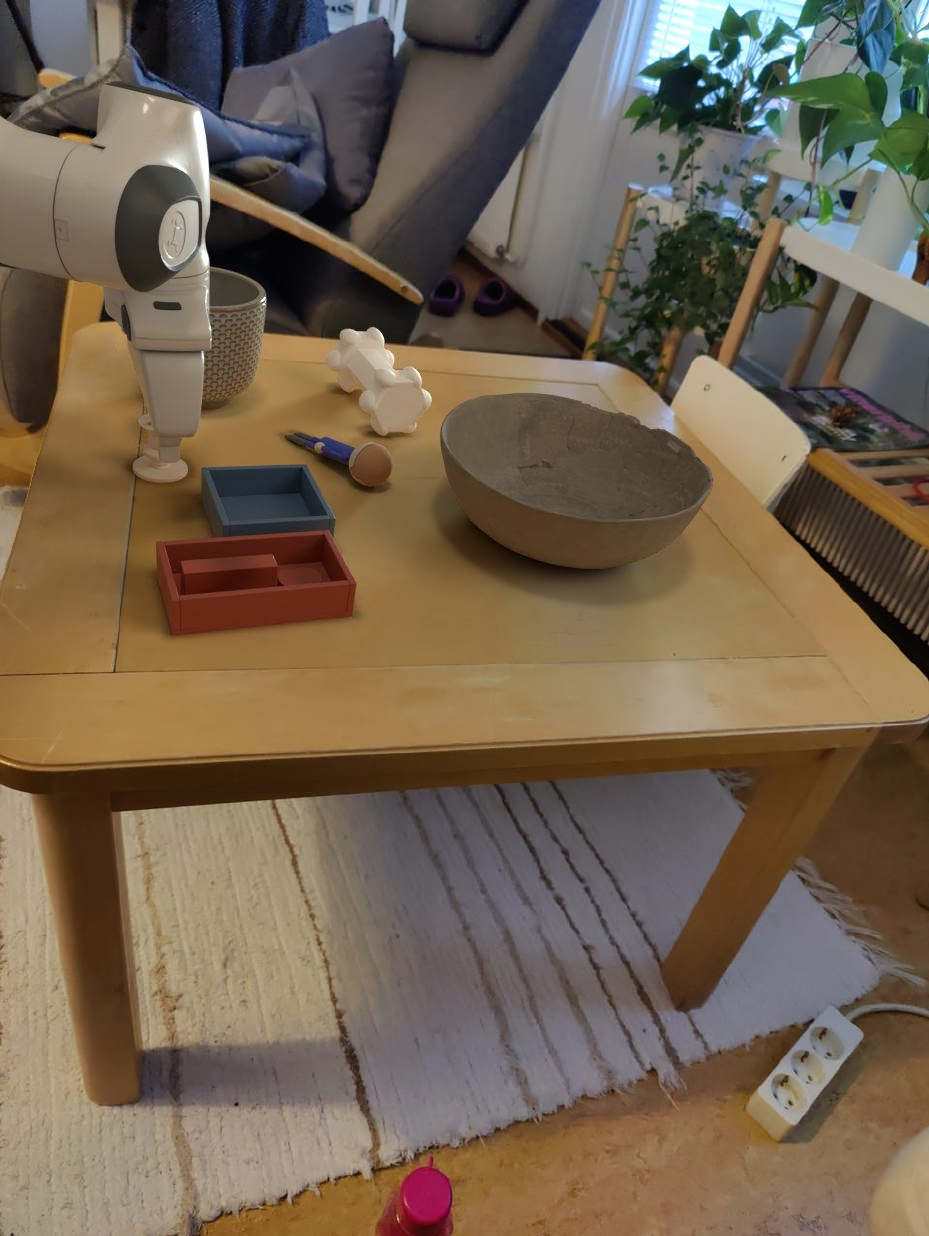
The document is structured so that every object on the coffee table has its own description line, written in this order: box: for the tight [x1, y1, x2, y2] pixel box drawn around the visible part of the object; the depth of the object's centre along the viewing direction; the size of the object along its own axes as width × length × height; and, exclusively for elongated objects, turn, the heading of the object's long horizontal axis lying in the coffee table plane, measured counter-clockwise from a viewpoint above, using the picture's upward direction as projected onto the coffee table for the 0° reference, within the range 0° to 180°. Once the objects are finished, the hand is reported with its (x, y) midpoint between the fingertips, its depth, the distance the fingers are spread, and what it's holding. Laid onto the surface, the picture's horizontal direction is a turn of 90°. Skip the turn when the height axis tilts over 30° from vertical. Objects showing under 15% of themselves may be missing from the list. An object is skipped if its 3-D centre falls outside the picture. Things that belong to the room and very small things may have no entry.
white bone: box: [325, 326, 433, 437], centre depth 105 cm, size 15×9×8 cm, turn 26°
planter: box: [201, 266, 268, 410], centre depth 98 cm, size 14×14×13 cm
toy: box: [284, 431, 394, 488], centre depth 95 cm, size 5×5×15 cm
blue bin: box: [200, 463, 337, 539], centre depth 82 cm, size 10×10×4 cm
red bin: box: [155, 530, 357, 637], centre depth 73 cm, size 15×8×4 cm, turn 114°
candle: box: [132, 413, 188, 484], centre depth 84 cm, size 5×5×10 cm
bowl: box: [439, 392, 714, 570], centre depth 90 cm, size 28×28×10 cm
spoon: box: [180, 554, 322, 595], centre depth 73 cm, size 12×4×3 cm, turn 113°
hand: (161, 436), depth 85 cm, fingers open, 8 cm apart
